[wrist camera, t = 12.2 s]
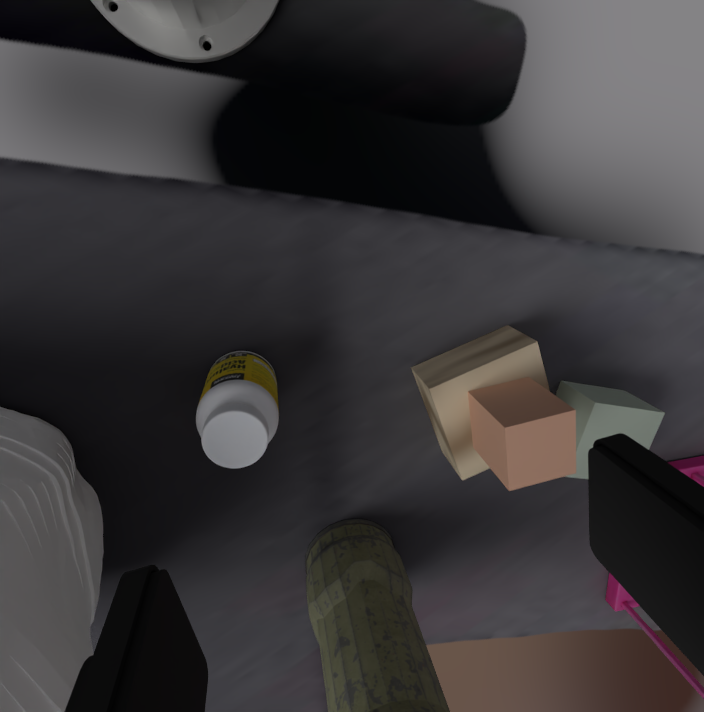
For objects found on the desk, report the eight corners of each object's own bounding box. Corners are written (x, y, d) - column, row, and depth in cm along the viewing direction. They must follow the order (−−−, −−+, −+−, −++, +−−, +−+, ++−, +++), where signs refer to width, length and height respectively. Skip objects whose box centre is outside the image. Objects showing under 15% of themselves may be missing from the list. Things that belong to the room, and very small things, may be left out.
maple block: (410, 366, 41) (429, 389, 36) (506, 324, 41) (537, 341, 36) (440, 449, 44) (462, 480, 39) (529, 410, 44) (561, 436, 40)
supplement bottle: (246, 334, 37) (242, 382, 28) (290, 385, 39) (299, 444, 30) (191, 376, 37) (169, 437, 28) (237, 424, 39) (230, 495, 30)
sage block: (559, 379, 44) (595, 402, 39) (623, 389, 45) (665, 412, 41) (535, 447, 46) (566, 476, 41) (597, 454, 47) (633, 483, 43)
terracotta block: (467, 391, 37) (504, 427, 31) (528, 376, 37) (575, 409, 32) (473, 447, 38) (509, 491, 33) (531, 432, 39) (576, 473, 33)
